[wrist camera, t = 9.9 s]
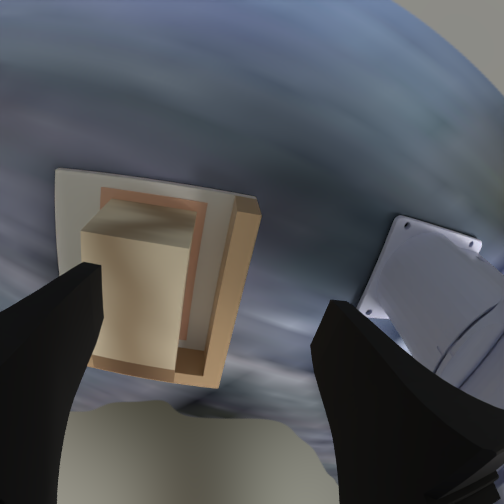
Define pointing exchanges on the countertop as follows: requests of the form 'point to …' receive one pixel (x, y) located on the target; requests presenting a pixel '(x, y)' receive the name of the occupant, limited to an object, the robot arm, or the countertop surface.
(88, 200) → the arena
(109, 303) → the maple block
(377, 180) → the countertop surface
